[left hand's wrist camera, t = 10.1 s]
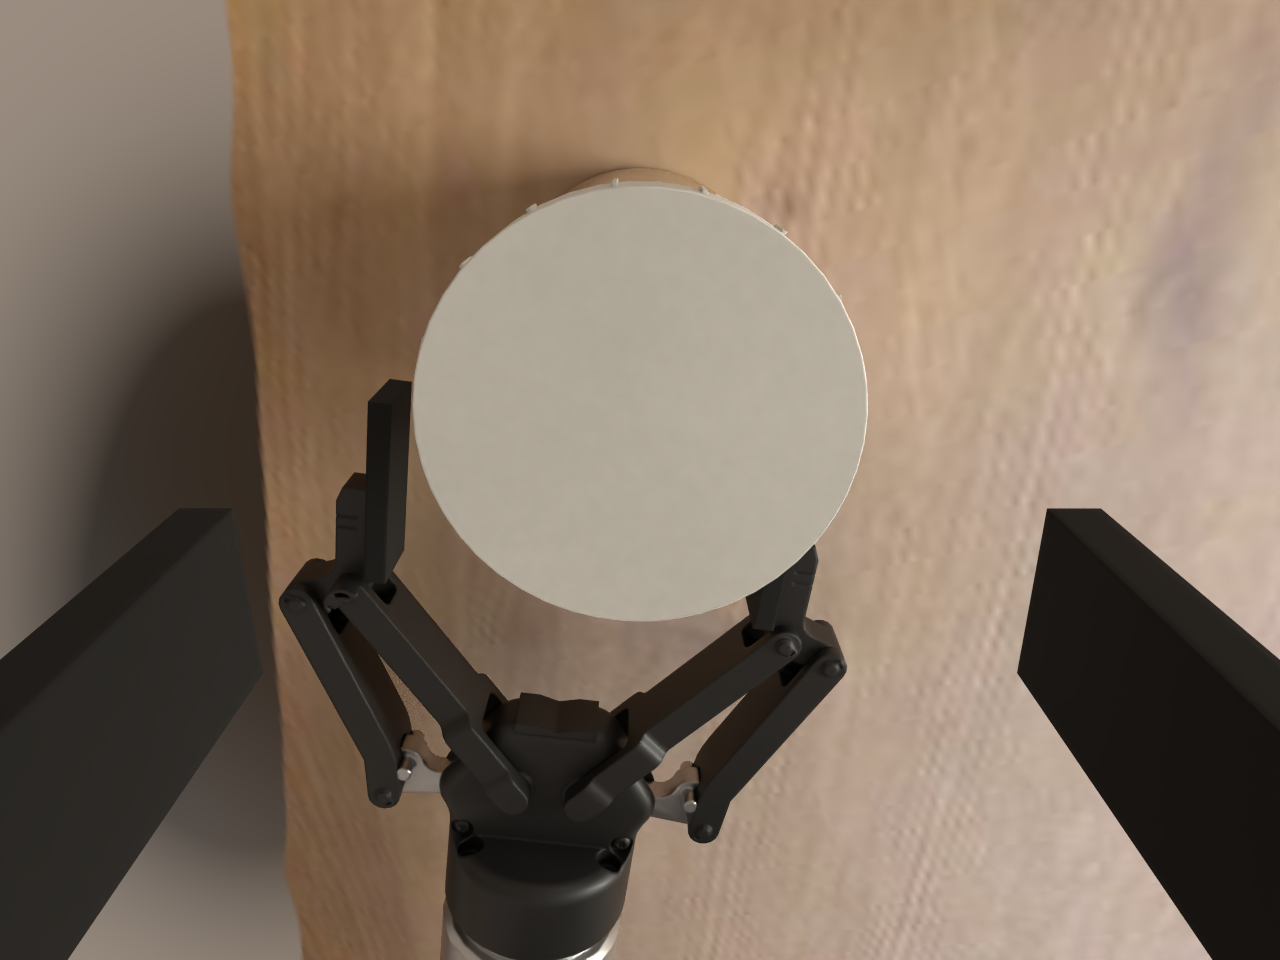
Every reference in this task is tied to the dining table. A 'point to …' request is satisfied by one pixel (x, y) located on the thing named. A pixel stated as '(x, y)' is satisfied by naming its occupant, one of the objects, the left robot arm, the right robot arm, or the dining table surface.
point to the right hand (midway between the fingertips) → (594, 416)
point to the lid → (639, 402)
